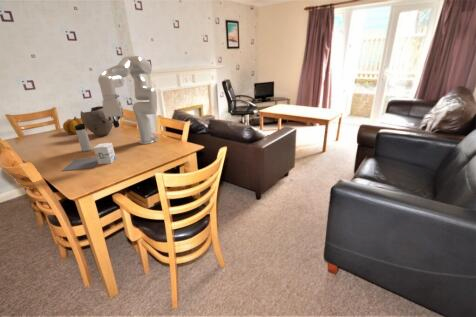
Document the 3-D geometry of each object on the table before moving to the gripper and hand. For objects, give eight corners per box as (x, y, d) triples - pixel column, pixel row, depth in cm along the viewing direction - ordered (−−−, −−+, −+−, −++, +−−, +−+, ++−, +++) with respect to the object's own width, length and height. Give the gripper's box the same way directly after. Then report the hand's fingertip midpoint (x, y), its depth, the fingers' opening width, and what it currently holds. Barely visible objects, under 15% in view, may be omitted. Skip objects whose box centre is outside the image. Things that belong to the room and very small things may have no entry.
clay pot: (122, 133, 219) (115, 106, 209) (96, 141, 200) (87, 111, 191) (107, 130, 231) (100, 104, 221) (81, 137, 213) (72, 109, 203)
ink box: (103, 159, 162) (99, 143, 158) (116, 158, 163) (112, 142, 158) (97, 164, 154) (92, 147, 150) (111, 163, 155) (106, 146, 150)
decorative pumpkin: (76, 129, 240) (71, 114, 234) (96, 129, 236) (91, 114, 231) (59, 135, 221) (54, 119, 215) (81, 135, 218) (76, 119, 212)
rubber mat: (102, 157, 166) (102, 156, 166) (93, 167, 150) (93, 167, 149) (74, 159, 163) (74, 159, 163) (61, 171, 147) (61, 170, 147)
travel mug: (94, 149, 182) (86, 123, 174) (86, 152, 176) (78, 126, 168) (88, 148, 184) (80, 123, 176) (80, 151, 178) (72, 125, 170)
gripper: (124, 95, 149) (130, 124, 156) (98, 97, 147) (106, 126, 154) (121, 97, 142) (128, 127, 149) (94, 99, 140) (102, 129, 147)
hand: (116, 127), depth 151 cm, fingers closed
